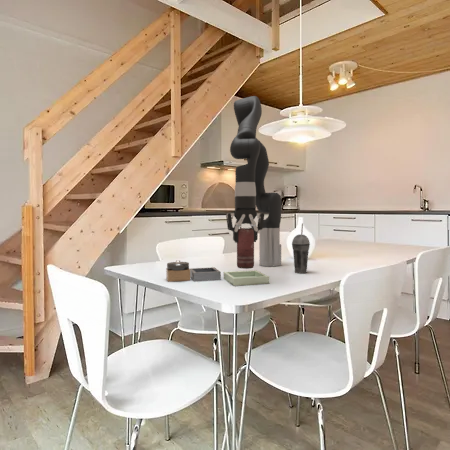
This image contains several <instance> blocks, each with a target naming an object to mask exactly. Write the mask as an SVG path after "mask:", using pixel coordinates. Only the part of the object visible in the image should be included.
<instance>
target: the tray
mask: <svg viewBox="0 0 450 450" xmlns="http://www.w3.org/2000/svg"><path fill="white" fill-rule="evenodd" d="M223 280H224V281H226V282H227V283H228V284H230V285H231V286H233V287H238V286H240V287H241V286H254V285H269V284H270V276H269V275H267V274H265V273H262V272H261V271H259V270H240V271H237V270H235V271H224V272H223Z"/></svg>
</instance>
